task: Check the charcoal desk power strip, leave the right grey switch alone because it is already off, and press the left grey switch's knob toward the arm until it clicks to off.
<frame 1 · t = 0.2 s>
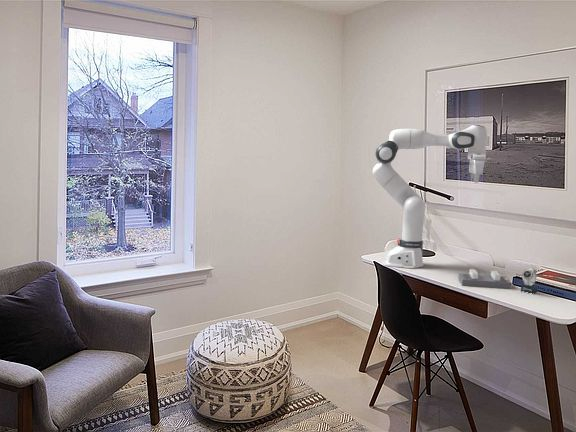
hand: (474, 182, 262), 47 cm above the table, tool pointing down, fingers open, 8 cm apart
left switch: (473, 274, 238), point 5 cm above the table, slide at 3.0 cm
right switch: (495, 275, 236), point 5 cm above the table, slide at 0.0 cm
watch: (528, 292, 226), on the table
power strip: (483, 283, 238), on the table
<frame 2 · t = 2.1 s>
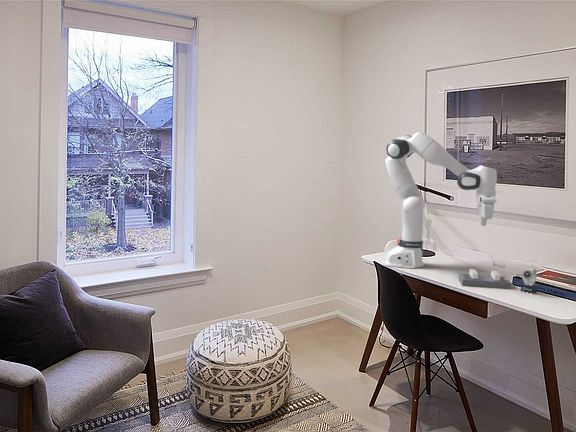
hand: (483, 225, 245), 27 cm above the table, tool pointing down, fingers closed
nothing on the table moved.
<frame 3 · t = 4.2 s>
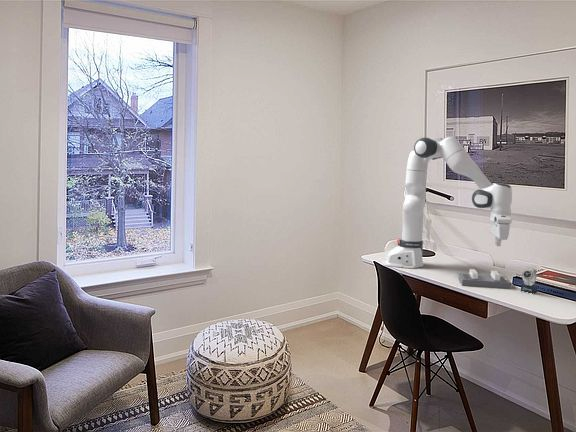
hand: (497, 245, 234), 19 cm above the table, tool pointing down, fingers closed
nothing on the table moved.
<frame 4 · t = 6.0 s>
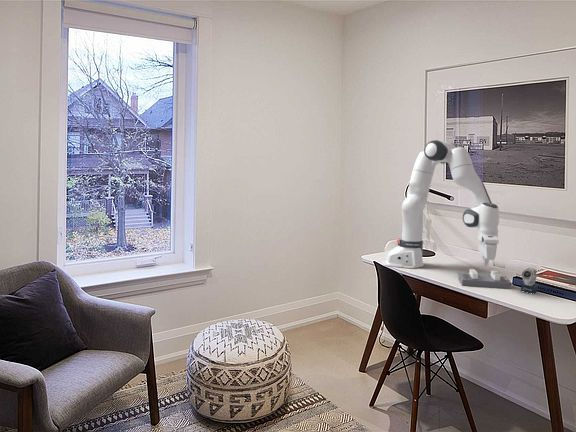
hand: (485, 265, 237), 9 cm above the table, tool pointing down, fingers closed
nothing on the table moved.
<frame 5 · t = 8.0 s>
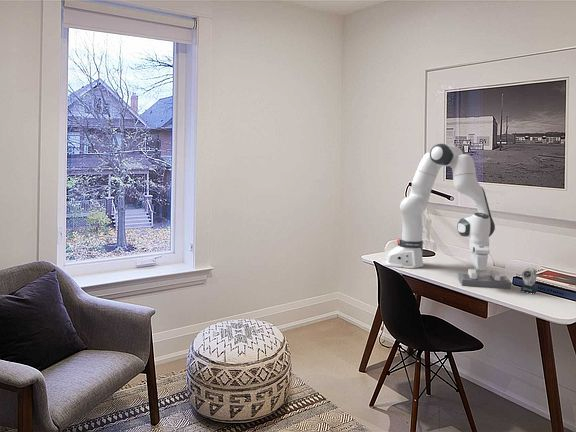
hand: (476, 274, 238), 4 cm above the table, tool pointing down, fingers closed, pressing on left switch
left switch: (472, 273, 238), point 5 cm above the table, slide at 2.4 cm, touching gripper
everything else where it was.
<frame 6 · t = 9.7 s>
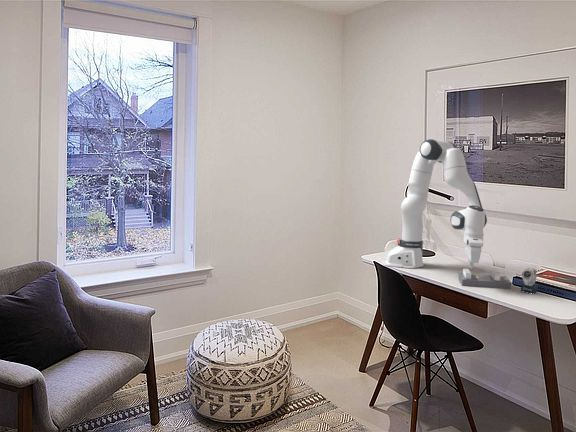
hand: (470, 267, 238), 8 cm above the table, tool pointing down, fingers closed
left switch: (467, 273, 239), point 5 cm above the table, slide at -0.1 cm
everything else where it was.
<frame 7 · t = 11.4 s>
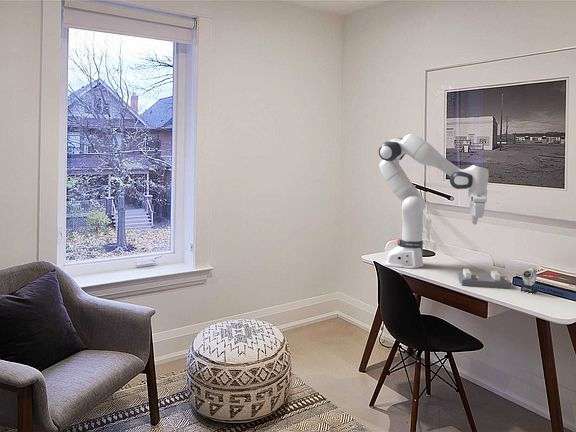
hand: (474, 224, 250), 27 cm above the table, tool pointing down, fingers closed
nothing on the table moved.
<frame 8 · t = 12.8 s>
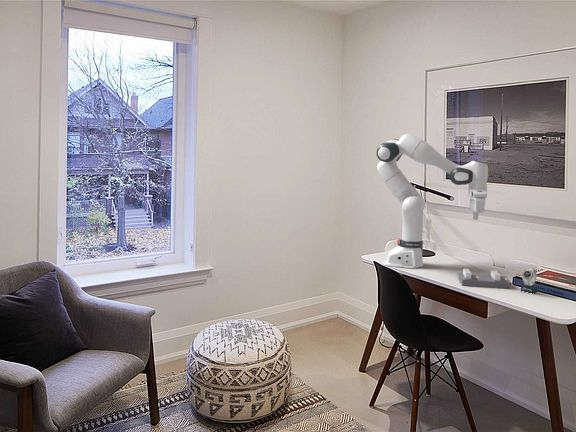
hand: (475, 219, 251), 29 cm above the table, tool pointing down, fingers closed
nothing on the table moved.
at the end: left switch slide at -0.1 cm; right switch slide at 0.0 cm; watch moved 0.2 cm from its start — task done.
